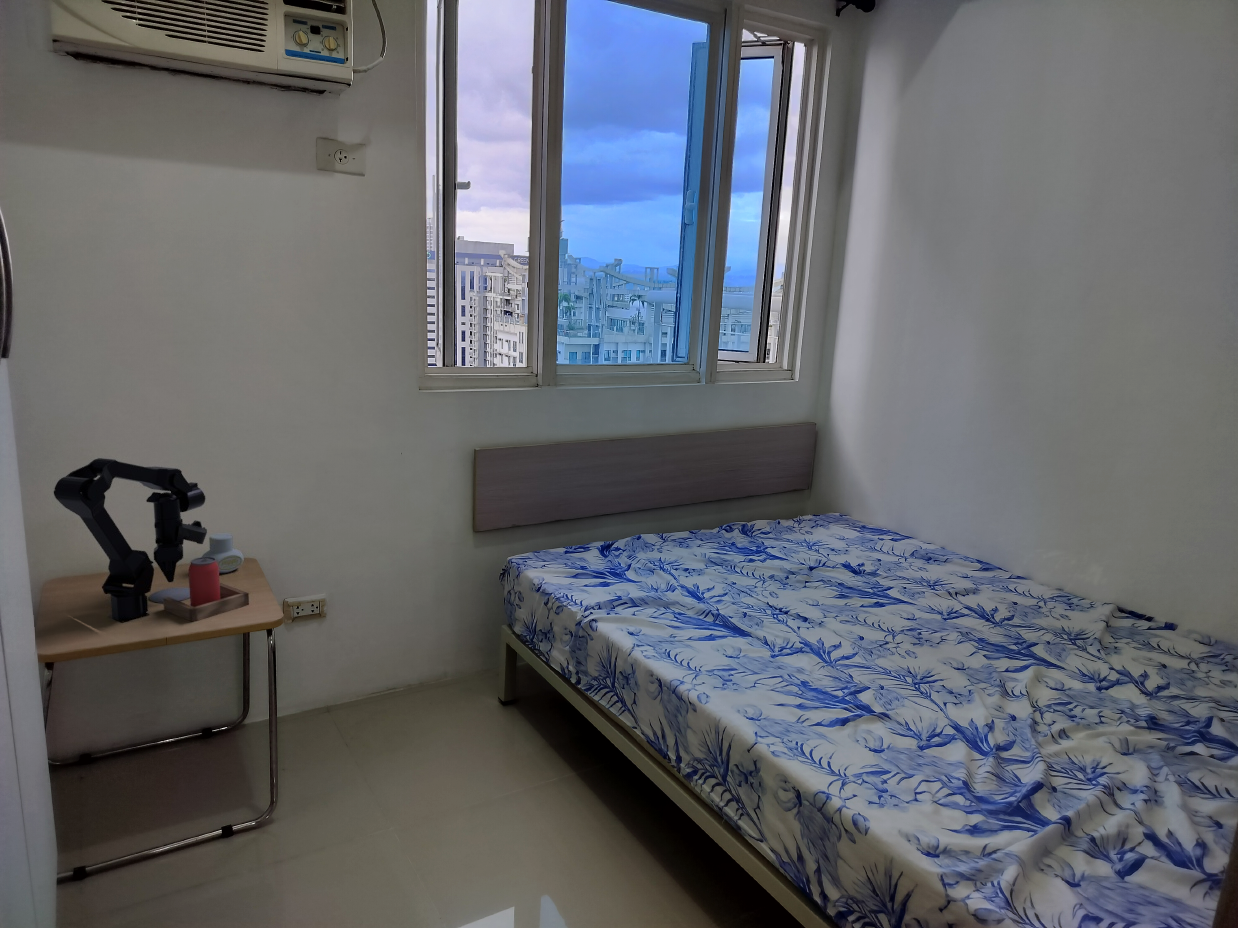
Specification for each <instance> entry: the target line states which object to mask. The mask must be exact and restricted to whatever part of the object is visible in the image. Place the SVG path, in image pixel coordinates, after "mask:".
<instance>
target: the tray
mask: <svg viewBox="0 0 1238 928" xmlns="http://www.w3.org/2000/svg"><path fill="white" fill-rule="evenodd" d="M249 595H250V594H249V592H246V591H244V590H241V589H239V588H235V587H233V586H230V585H228V584H225V583H223V582H220V600H217V601H214V602H210V603H207V604H203V605H200V606H196V607H192V606H191V605H190V604H187V603H185V602H183V601H178V600H175V599H173V598H170V597H165V598H163V600H164V603H163V610H164V611H166V612H168V613H171V614H173V615H175V616H178V617H180V618H182V619H185V620H187V621H190V622H192V623H194V622H197V621H200V620H203V619H206V618H210V617H213V616H217V615H219V614H223V613H226V612H229V611H233V610H235V609H239V608H242V607H245V606H249V605H250V598H249V597H250V596H249Z"/></svg>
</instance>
